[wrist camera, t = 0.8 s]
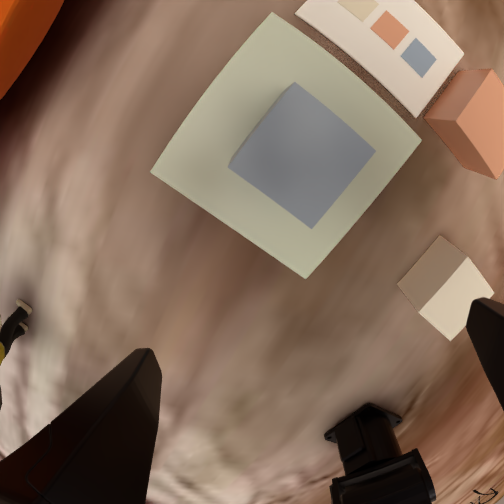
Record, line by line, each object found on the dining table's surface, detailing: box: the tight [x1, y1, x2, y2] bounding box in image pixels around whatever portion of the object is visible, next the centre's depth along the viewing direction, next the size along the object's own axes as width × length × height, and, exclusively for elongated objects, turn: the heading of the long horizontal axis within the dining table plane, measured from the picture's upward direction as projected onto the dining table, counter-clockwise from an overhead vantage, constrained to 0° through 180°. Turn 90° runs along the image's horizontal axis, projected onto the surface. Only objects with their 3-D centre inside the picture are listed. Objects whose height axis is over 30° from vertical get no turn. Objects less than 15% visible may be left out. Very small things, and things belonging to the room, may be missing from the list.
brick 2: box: [397, 235, 494, 341], centre depth 21 cm, size 5×5×4 cm
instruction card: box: [295, 0, 464, 118], centre depth 15 cm, size 10×7×1 cm
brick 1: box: [423, 69, 504, 180], centre depth 16 cm, size 5×5×4 cm
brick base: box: [227, 82, 376, 229], centre depth 16 cm, size 5×5×4 cm
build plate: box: [150, 12, 422, 279], centre depth 18 cm, size 12×12×1 cm
